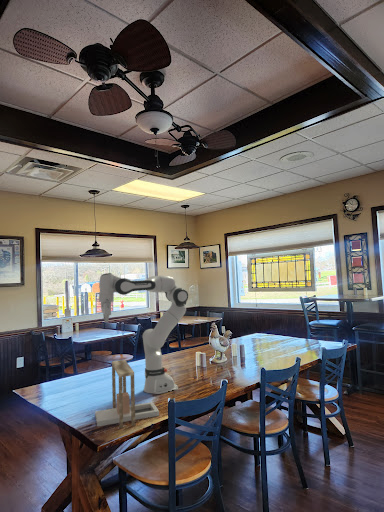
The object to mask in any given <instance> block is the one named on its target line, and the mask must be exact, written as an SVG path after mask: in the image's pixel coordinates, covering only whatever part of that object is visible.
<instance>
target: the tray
mask: <svg viewBox="0 0 384 512" xmlns="http://www.w3.org/2000/svg"><path fill="white" fill-rule="evenodd" d="M94 412H95V413H94V418H95V420H96V426H97V427H104V426H109V425H115V424H120V423H119V415H118V413H117V407H116V408H113V407H112V408H107V409H101V410H96V411H94ZM159 416H160V411H159V409H158V407H157V406H156V404H155V403H154V402H153V401H151V402H144V403H138V404H135V421H136V420H142V419H149V418H154V417H159ZM148 417H149V418H148ZM124 422H131V405H130V413H126V414H123V423H124Z"/></svg>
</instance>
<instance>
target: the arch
mask: <svg viewBox="0 0 384 512" xmlns="http://www.w3.org/2000/svg"><path fill="white" fill-rule="evenodd" d="M116 374H117V376H118V393H119V423H118V424H119V429H123V428H124V422H123V393H125V392H127V377H130V406H131V421H130V422H131V426H132V427H135V426H136V420H135V405H136V401H135V400H136V399H135V398H136V397H135V391H136V390H135V371H134V370H133V369H132V367H131V366H130V364H129V363H128V362H127V360H126V359H122V360H111V376H112V377H111V383H112V385H111V387H112V388H111V389H112V409H113V408H117V396H116V394H117V392H116V388H117V387H116V384H117V383H116Z"/></svg>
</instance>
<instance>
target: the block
mask: <svg viewBox="0 0 384 512" xmlns="http://www.w3.org/2000/svg"><path fill="white" fill-rule="evenodd" d="M130 406H131V398H130V394H129V392H127V391H126V392H125V393H123V414H126V413H130ZM116 408H117V413H118V415H119V392H118V393H116Z"/></svg>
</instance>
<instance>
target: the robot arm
mask: <svg viewBox="0 0 384 512" xmlns="http://www.w3.org/2000/svg"><path fill="white" fill-rule="evenodd" d="M98 288H99V293H98V302H99V303H100V309H101V310H100V311H101V312H102V315H103V320H104V322H105V323H109V321H110V316H112V303H113V302H114V300H115V299H114V294H115V293H117V294H119V295H122V296H125V295H128V294H130V293H132V292H139V291H140V292H141V291H148V292H150V293H164V294H165V297H166V300H168V301H169V302H171V305H170V307H169V308H168V309H167V310H166V311H165V312H164V314H163V315H162V316H160V318H159V319H158V322H157V323H156V325H155V327H154V328H148V329H145V330H144V332H143V333H142V340H143V341H142V342H143V350H144V357H145V358H144V359H145V361H144V362H145V368H144V378H145V381H144V387H143V392H144V393H146V394H154V395H160V394H165V393H169V392H168V391H170V392H173V391H172V390H174V391H177V390H178V389H179V386H178V385H177V384H176V383H175V381H174V379H173V377H172V376H171V375H169V374H168V373H167V372H168V369H167V368H166V367H163V354H162V350H161V348H162V347H164V344H165V343H166V340H167V338H168V337H169V335H170V333H171V332H172V330H174V328H175V327H176V326H177V324H179V323H180V321H181V320H182V318H183V317H184V315H186V312H187V307H186V304H187V301H188V299H189V292H188V291H187V290H186V289H185V288H183V287H179V286H176V280H175V278H174V277H173V276H169V275H154V276H149V277H148V278H147V279H144V280H143V279H142V280H131V279H128V278H123V277H119V276H117V275H115V274H114V273H113V272H106V273H103V274H101V275H100V277H99V285H98Z"/></svg>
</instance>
